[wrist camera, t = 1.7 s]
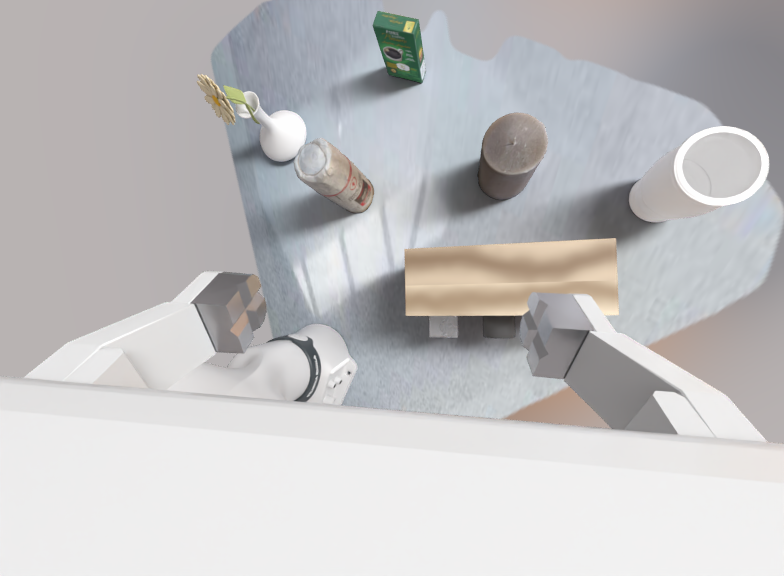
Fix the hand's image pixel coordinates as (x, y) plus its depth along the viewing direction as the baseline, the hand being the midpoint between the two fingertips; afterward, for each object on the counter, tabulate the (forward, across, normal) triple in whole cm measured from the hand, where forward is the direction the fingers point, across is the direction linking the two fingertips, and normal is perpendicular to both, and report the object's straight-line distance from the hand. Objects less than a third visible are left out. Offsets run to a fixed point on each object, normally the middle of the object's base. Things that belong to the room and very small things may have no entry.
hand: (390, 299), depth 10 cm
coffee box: (+73, -3, +3) cm, 73 cm away
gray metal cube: (+36, +7, -32) cm, 49 cm away
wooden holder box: (+45, +16, -30) cm, 56 cm away
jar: (+51, +42, -14) cm, 68 cm away
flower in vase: (+69, -29, -11) cm, 75 cm away
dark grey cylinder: (+35, +16, -31) cm, 50 cm away
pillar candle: (+57, +17, -13) cm, 61 cm away
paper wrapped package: (+59, -13, -19) cm, 63 cm away
